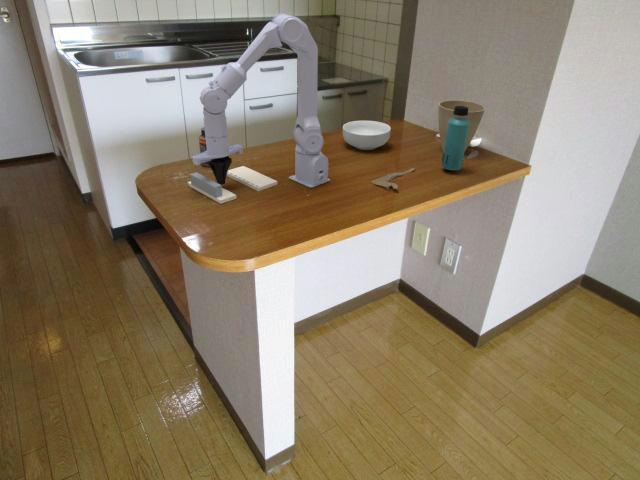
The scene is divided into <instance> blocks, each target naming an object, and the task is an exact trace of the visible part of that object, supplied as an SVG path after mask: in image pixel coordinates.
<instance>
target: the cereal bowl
mask: <svg viewBox="0 0 640 480" xmlns="http://www.w3.org/2000/svg"><path fill="white" fill-rule="evenodd" d="M391 129H392V128H391V126H390V125H389V124H387V123H384V122H380V121H376V120H354V121H353V120H352V121H348V122H347V123H345V124H343V125H342V136H343V140H344V141H345V142H346V143H347V144H349V145H350V146H352V147H355V148H356V149H357V150H361V151H371V150H372V151H373V150H375V149H377V148H379V147H382V146H384V145H385V144H386V143H387V142H388V140H389V139H390V137H391Z"/></svg>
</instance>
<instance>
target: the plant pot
mask: <svg viewBox="0 0 640 480" xmlns="http://www.w3.org/2000/svg"><path fill="white" fill-rule="evenodd" d="M456 106H465V107H468V115H467V116H458V115H455V114H453V112H454V109H455V107H456ZM485 109H486V107H485V106H484V105H482V104H480V103H478V102H474V101H468V100H458V99H452V100H451V99H449V100H442V101H440V102H438V110H437V111H438V115H437V117H438V119H437V120H438V134H439V139H440V146H441V150H442V153H443V152H444V146H445V140H446V139H445V138H446V133H447V128H448V121H449V120H450V119H451V118H453V117H464V118H466V119H467V120H468V121H469V122H470V125H469V130H468V135H467V140H466V147H465V152H466V151H467V149H468V148H469V145H470V144H471V142H472V141H473V138H474V136H475V134H476V133H477V130H478V128H479V126H480V123H481V121H482V119H483V116H484V113H485Z"/></svg>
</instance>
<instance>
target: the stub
mask: <svg viewBox="0 0 640 480" xmlns="http://www.w3.org/2000/svg"><path fill="white" fill-rule="evenodd" d="M189 175H190V181H187V186H188V187H190V188H191V189H194V190H196V191H197V192H199V193H201V194H203V195H204V196H206V197H207V198H209V199H211V200H213V201H215V202H217V203H219V204H220V205H221V204H224V203H225V204H226V203H228V202H230V201H233V200H236V199H237V194H235V193H234V192H231V191H230V190H228V189H226V188H223V186H222V185H223V184H222V185H220V184H218V183H217V181H214V180H212V179H210V178H208V177H206V176H205V175H202V174H200V173H199V172H197V171H195V172H193V173H192V172H191V173H189Z"/></svg>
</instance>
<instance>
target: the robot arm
mask: <svg viewBox="0 0 640 480" xmlns="http://www.w3.org/2000/svg"><path fill="white" fill-rule="evenodd" d="M282 43H284V44H286V45H288V47H289V48H290V49H291V50H292V51H294V53H295V54H297V103H298V104H297V108H298V109H297V110H298V111H297V112H298V114H297V117H296V119H295V126H294V129H293V131H292V137H293V140H294V142H296V146H295V148H294V151H295V153H294V154H295V155H294V160H295V162H294V166H295V167H294V173H295V174H292V175H290V176H289V177H288V179H289V180H291V181H294V182H296V183H299V184H300V185H303V186H305V187H308V188H311V189H312V188H315V187H317V186H320V185H323V184H325V183H328V182H330V181H331V179H330V178H329V159H328V157H327V156H326V155H324V154H323V153H322V148H323V146H324V143H325V141H324V136H323V134H322V131H321V125H320V121H319V119H318V80H319V78H318V73H319V72H318V64H319V63H318V62H319V61H318V60H319V59H318V58H319V55H318V53H319V51H318V50H319V49H318V44H317V43H316V41H315V39H314V38H313V36H312V34H311V32H310V30H309V26H308V25H307V23H305V22H304V21H303V20H301V19H300V18H299V17H297V16H294V15H289V14H287V13H284V12H282V13H278V14H276V15H275V16H273V17H272V20H271V21H269V22H267V23H266V25H264V26H263V28H262V29H261V30H260V32H259V33H258V35H257V36H256V37H255V38H254V40H253V41H252V42H251V43H250V45H249V46H248V47H247V48H246V50H244V52H243V54H242V55H241V56H240V57H239V58H238V60H237V61H235V62H232V61H231V62H228V63H227V64H226V65H225V64H223V65H222V66H220V69H221V70H220V72H219V73H218V75H216V77H215V78H214V79H213V80H210V81H209V82H208V86H206V87H204V88H203V89H202V91H201V92H200V95H199V96H200V97H199V100H200V103H201V104H202V106H203V108H202V109H203V111H202V113H203V126H204V128H205V137H206V146H207V150H206V151H204V152H202V153H200V152H199V154H195V155H194V156H191V157H192V163H193V164H194V165H195V166H201V165H202V164H201V163H204V162H207V163H208V165H209V166H210V167H209V168H210V169H211V171H212V173H213V175H214V177H215V178H214V179H215V180H216V181H215V182H216V183H218V184H220V185H225V184H226V181H227V180H226V179H227V176H226V175H227V172H228V170H230V167H231V164H232V163H233V160H232V158H231V157H229V156H232V155H236V154H243V152H244V151H243V146H242V145H240V144H234V145H230V144H229V137H228V135H229V133H228V123H227V116H226V109H227V106H228V100H229V99H231V98H232V97H233V95H235V94H236V92H237V91H238V90H239V89H240V87H242V86H243V84H244V83H245V82H246V81H247V76H248V75H247V72H248V71H249V70H250V69H251V68H252V67H254V65H255V64H256V63H257V62H258V61H259V60H260V59H261V58H262V57H263V56H264V55H265V53H266V52H268V51H269V50H270V49H273V48H274V49H275V48H280V47H283V44H282Z"/></svg>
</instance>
